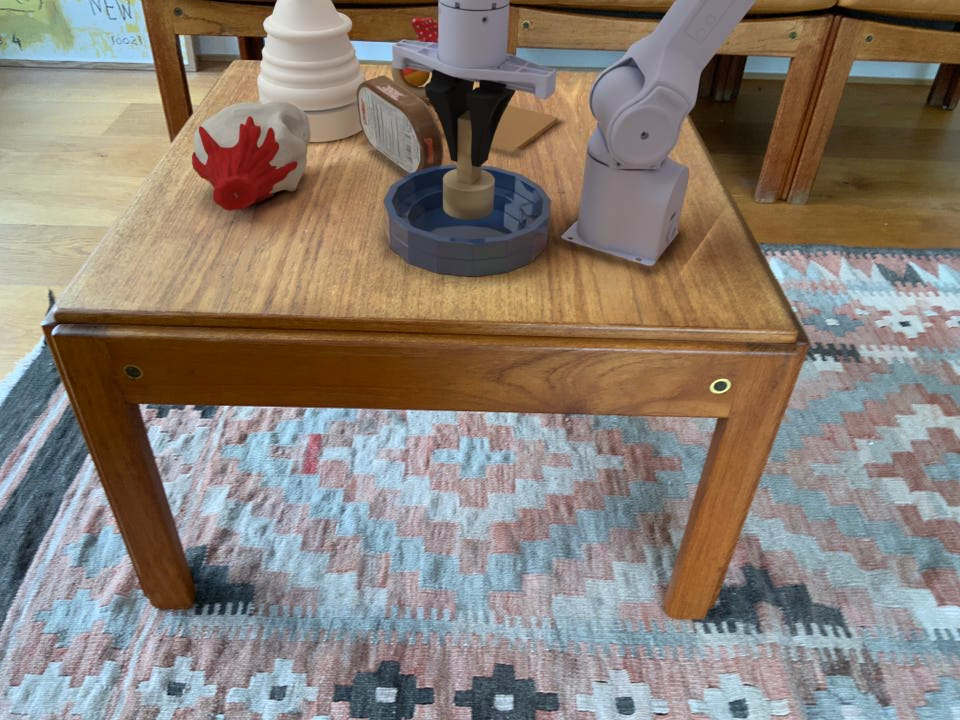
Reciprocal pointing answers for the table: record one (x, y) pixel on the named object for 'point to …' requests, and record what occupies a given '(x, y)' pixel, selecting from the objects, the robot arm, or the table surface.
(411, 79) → the bird rattle
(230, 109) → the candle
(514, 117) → the mat
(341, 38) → the honey pot
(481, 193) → the wooden peg on disc
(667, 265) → the table surface
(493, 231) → the bowl
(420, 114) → the tin
